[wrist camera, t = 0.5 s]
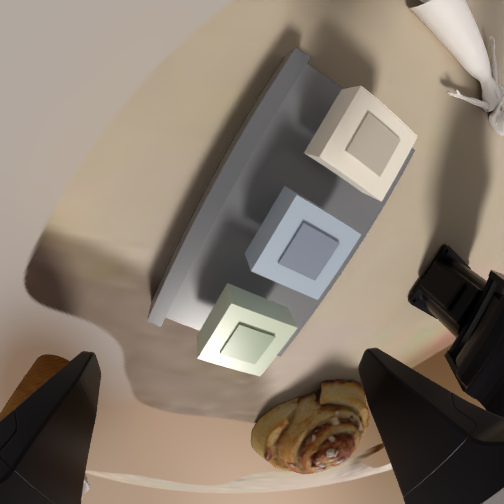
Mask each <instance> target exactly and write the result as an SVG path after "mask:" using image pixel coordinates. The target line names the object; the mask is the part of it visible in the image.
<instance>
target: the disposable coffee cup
mask: <svg viewBox="0 0 504 504" xmlns="http://www.w3.org/2000/svg"><path fill="white" fill-rule="evenodd" d="M69 362H70V361H68V360H66V359H64V358H62V357H59V356H55V355H42V356H40V357H39V358H38V359H37V360H36V361H35V363H34V364H33V366H32V367H31V368H30V370H29V371H28V373H27V374H26V375H25V377H24V378H23V380H22V381H21V383H20V384H19V385H18V387H17V388H16V390H15V391H14V393H13V395H12V396H11V397H10V399H9V400H8V402H7V403H6V405H5V407H4V408H3V410H2V412H1V413H0V421H1V420H2V419H3V418H4V417H5V416H7V415H8V414H9V413H10V412H11V411H12V410H15V408H16V407H17V406H18V405H19V404H21V403H22V402H23V401H24V400H25V399H26V398H27V397H29V396H30V395H31V394H32V393H33V392H34V391H36V390H37V389H38V388H39V387H40V386H42V385H43V384H44V383H45V382H46V381H47V380H49V379H50V378H51V377H52V376H53V375H55V374H56V373H57V372H58V371H59V370H61V369H62V368H63V367H64V366H65V365H67V364H68V363H69ZM89 488H90V487H89V484H88V481H87V476H86V474H85V477H84V484H83V491H82V498H83V495H84V493H85V492H87V491H88V490H89ZM81 500H82V499H81Z"/></svg>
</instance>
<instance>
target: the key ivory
mask: <svg viewBox="0 0 504 504" xmlns="http://www.w3.org/2000/svg"><path fill="white" fill-rule="evenodd" d="M417 137H418V136H417V135H416V134H415V133H414V132H413V131H412V130H411V129H410V128H409V127H408V126H407V125H406V124H405V123H404V122H402V121H401V120H400V119H399V118H398V117H397V116H396V115H395V114H394V113H393V112H392V111H391V110H390V109H388V108H387V107H386V106H385V105H384V104H383V103H382V102H380V101H379V100H378V99H377V98H376V97H375V96H373V95H372V94H371V93H370V92H369V91H367V90H366V89H365V88H364V87H363V86H356V87H351V88H346V89H342V90H341V91H340V93H339V95H338V96H337V98H336V100H335V101H334V103H333V105H332V106H331V108H330V110H329V112H328V113H327V115H326V117H325V118H324V120H323V122H322V123H321V125H320V127H319V128H318V130H317V132H316V133H315V135H314V137H313V138H312V140H311V142H310V143H309V145H308V147H307V149H306V150H305V152H304V153H305V154H306V155H308V156H309V157H311V158H312V159H314V160H316V161H317V162H319V163H320V164H322V165H323V166H325V167H326V168H328V169H329V170H331V171H332V172H334V173H335V174H337V175H338V176H339V177H341V178H342V179H344V180H345V181H347V182H348V183H349V184H351V185H352V186H354V187H355V188H357V189H358V190H359V191H361V192H362V193H364V194H366V195H368V196H371V197H373V198H375V199H377V200H379V201H381V202H382V200H383V199H384V197H385V195H386V193H387V192H388V190H389V188H390V187H391V185H392V183H393V181H394V179H395V178H396V176H397V174H398V172H399V171H400V169H401V167H402V165H403V163H404V161H405V160H406V158H407V156H408V154H409V152H410V150H411V148H412V147H413V145H414V143H415V141H416V139H417Z"/></svg>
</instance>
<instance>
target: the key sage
mask: <svg viewBox="0 0 504 504" xmlns="http://www.w3.org/2000/svg"><path fill="white" fill-rule="evenodd" d="M297 328H298V327H297V325H296V323H295V321H294V319H293V317H292V315H291V313H290V310H289V308H288V307H286V306H283V305H281V304H278V303H276V302H273V301H271V300H268V299H266V298H263V297H261V296H258V295H256V294H253V293H251V292H248V291H246V290H243V289H241V288H238V287H236V286H234V285H231V284H229V283H227V285H226V286H225V288H224V290H223V292H222V293H221V295H220V297H219V298H218V300H217V302H216V304H215V305H214V307H213V309H212V310H211V312H210V314H209V316H208V317H207V319H206V321H205V323H204V324H203V326H202V328H201V329H200V331H199V333H198V335H197V357H198V359H201V360H204V361H207V362H211V363H214V364H217V365H220V366H224V367H227V368H231V369H234V370H238V371H242V372H245V373H249V374H253V375H257V376H261V375H262V373H263V372H264V371H265V370H266V368H267V367H268V366H269V365H270V363H271V362H272V361H273V360H274V358H275V357H276V356H277V354H278V353H279V352H280V351H281V349H282V348H283V347H284V345H285V344H286V343H287V341H288V340H289V339H290V338H291V336H292V335H293V334H294V332H295V331H296V330H297Z"/></svg>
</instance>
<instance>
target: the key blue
mask: <svg viewBox="0 0 504 504" xmlns="http://www.w3.org/2000/svg"><path fill="white" fill-rule="evenodd" d="M360 236H361V234H360V233H359V232H357V231H356V230H355V229H353V228H352V227H351V226H349V225H348V224H346V223H345V222H344V221H342V220H340V219H339V218H337V217H336V216H334V215H332V214H331V213H329V212H328V211H326V210H324V209H323V208H321V207H319V206H318V205H316V204H314V203H313V202H311V201H309V200H308V199H306V198H304V197H303V196H301V195H299V194H298V193H296V192H294V191H292V190H291V189H289V188H287V187H285V186H284V187H283V189H282V191H281V193H280V194H279V196H278V198H277V199H276V201H275V203H274V204H273V206H272V208H271V210H270V211H269V213H268V215H267V216H266V218H265V220H264V221H263V223H262V225H261V227H260V228H259V230H258V232H257V233H256V235H255V237H254V238H253V240H252V242H251V244H250V245H249V247H248V249H247V250H246V252H245V256H246V259H247V261H248V264H249V267H250V270H251V271H252V272H254V273H256V274H259V275H261V276H263V277H266V278H268V279H270V280H272V281H275V282H277V283H279V284H282V285H284V286H286V287H289V288H291V289H293V290H296V291H298V292H300V293H303V294H305V295H307V296H310V297H312V298H314V299H317V300H318V299H319V298H320V296H321V295H322V293H323V292H324V291H325V289H326V288H327V286H328V285H329V283H330V282H331V280H332V279H333V278H334V276H335V275H336V273H337V272H338V270H339V269H340V267H341V266H342V264H343V263H344V261H345V260H346V258H347V257H348V255H349V253H350V252H351V250H352V249H353V247H354V246H355V244H356V243H357V241H358V239H359V238H360Z"/></svg>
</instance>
